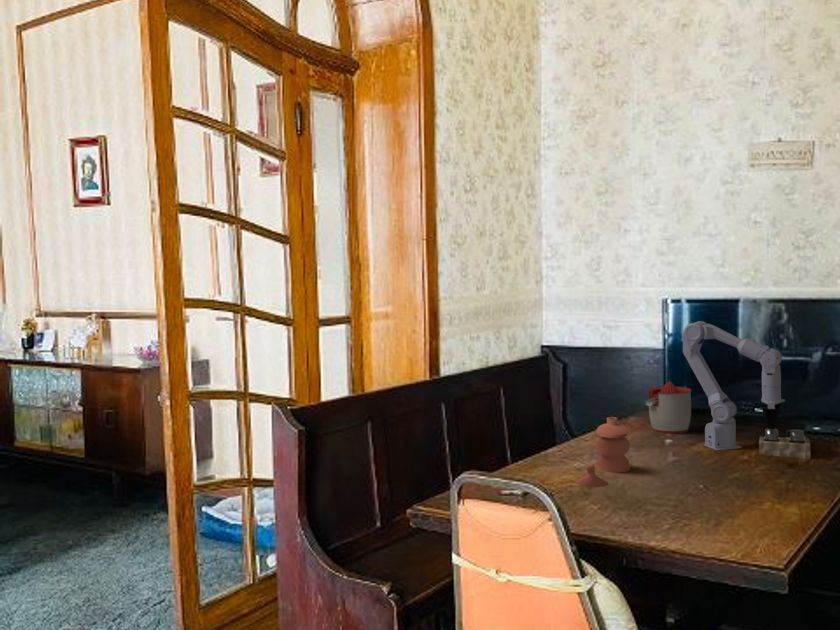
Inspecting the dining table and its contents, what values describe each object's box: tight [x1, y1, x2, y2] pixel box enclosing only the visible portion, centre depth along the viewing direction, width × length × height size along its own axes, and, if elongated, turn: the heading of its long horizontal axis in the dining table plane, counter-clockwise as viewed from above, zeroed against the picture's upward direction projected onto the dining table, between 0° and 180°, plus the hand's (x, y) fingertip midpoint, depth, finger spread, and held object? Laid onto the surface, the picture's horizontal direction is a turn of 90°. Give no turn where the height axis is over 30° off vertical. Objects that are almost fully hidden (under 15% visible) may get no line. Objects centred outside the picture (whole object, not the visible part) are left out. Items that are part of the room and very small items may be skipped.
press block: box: [758, 436, 811, 460], centre depth 256 cm, size 15×9×5 cm, turn 65°
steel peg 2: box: [789, 429, 805, 443], centre depth 254 cm, size 4×4×5 cm
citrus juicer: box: [645, 381, 692, 435], centre depth 293 cm, size 16×17×20 cm
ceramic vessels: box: [575, 416, 631, 488], centre depth 225 cm, size 35×21×19 cm, turn 148°
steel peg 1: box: [764, 427, 779, 442], centre depth 258 cm, size 4×4×5 cm
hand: (771, 426), depth 257 cm, fingers open, 6 cm apart
